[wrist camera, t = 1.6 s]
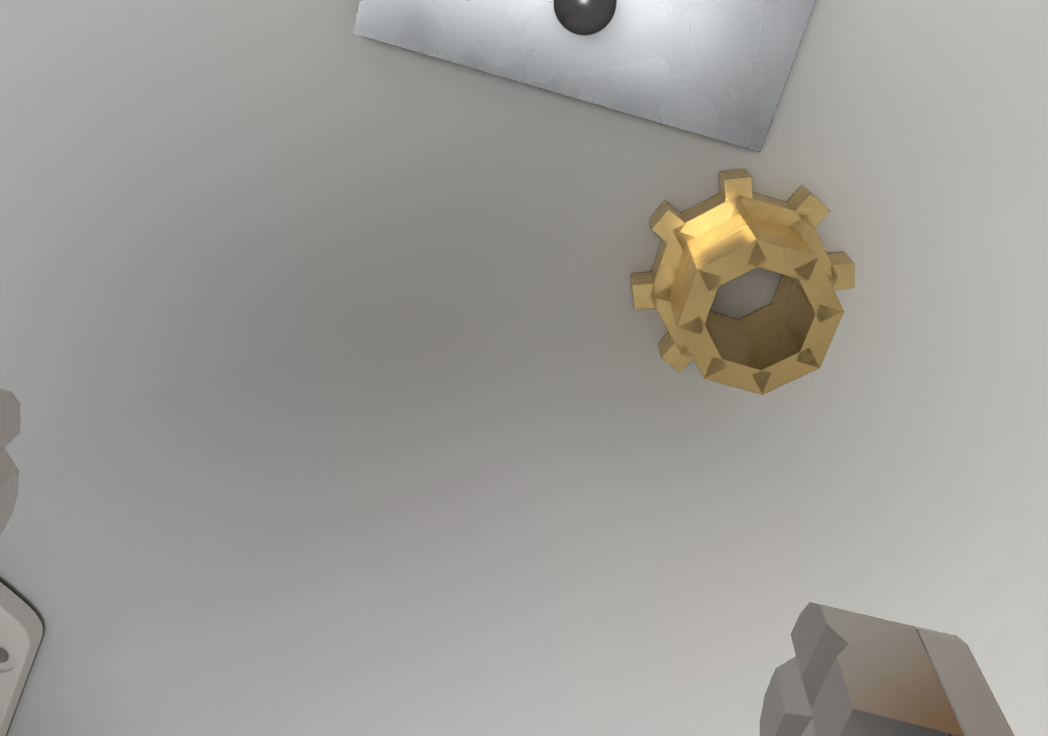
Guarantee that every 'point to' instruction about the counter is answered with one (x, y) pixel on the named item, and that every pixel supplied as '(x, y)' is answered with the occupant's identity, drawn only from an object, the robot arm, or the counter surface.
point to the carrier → (618, 52)
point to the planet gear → (728, 252)
